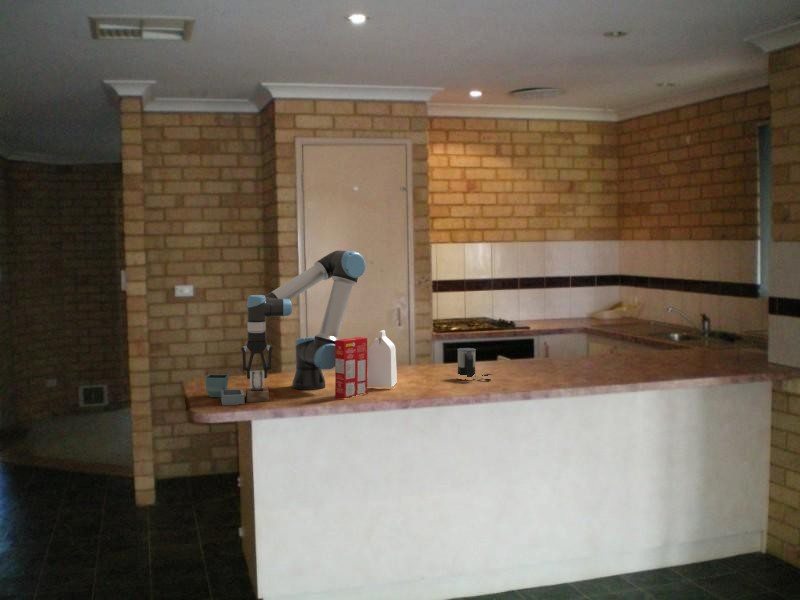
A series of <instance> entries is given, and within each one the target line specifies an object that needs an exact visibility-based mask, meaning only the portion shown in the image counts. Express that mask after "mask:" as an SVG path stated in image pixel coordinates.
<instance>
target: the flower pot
mask: <svg viewBox="0 0 800 600" xmlns="http://www.w3.org/2000/svg"><path fill="white" fill-rule="evenodd" d="M204 381H205V390H206V392H207V394H208V396H209V398H220V399H221V390H228V384H229V374H208V375H206V376H205V377H204Z"/></svg>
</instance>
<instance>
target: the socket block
mask: <svg viewBox="0 0 800 600" xmlns="http://www.w3.org/2000/svg"><path fill="white" fill-rule="evenodd" d="M269 393H270V392H269V389H268V388H267V387H262V391H252V387H249V388H245V399H246V402H247V403H248V402H249V403H250V402H252V403H253V402H269V401H270V395H269Z"/></svg>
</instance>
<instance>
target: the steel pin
mask: <svg viewBox="0 0 800 600" xmlns="http://www.w3.org/2000/svg"><path fill="white" fill-rule="evenodd" d="M251 371H252V387H251V388H252V391H262V388H263V386H262V370H251Z"/></svg>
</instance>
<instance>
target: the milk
mask: <svg viewBox="0 0 800 600" xmlns="http://www.w3.org/2000/svg"><path fill="white" fill-rule="evenodd" d="M378 333H379V334H378V337H375V339H374V340H373V341H372V343H371V345H370V346H369V348H368V351H367V387H392V386H394V385H395V384H396V383H397V384H398V378H397V376H398V375H397V373H398V372H397V349H396V345H395V343H394V342H393V341H392V340H390V339H389V338H388V336H387V335H386V334H387V333H386V329H381V330H380V331H379V332H378Z"/></svg>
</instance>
